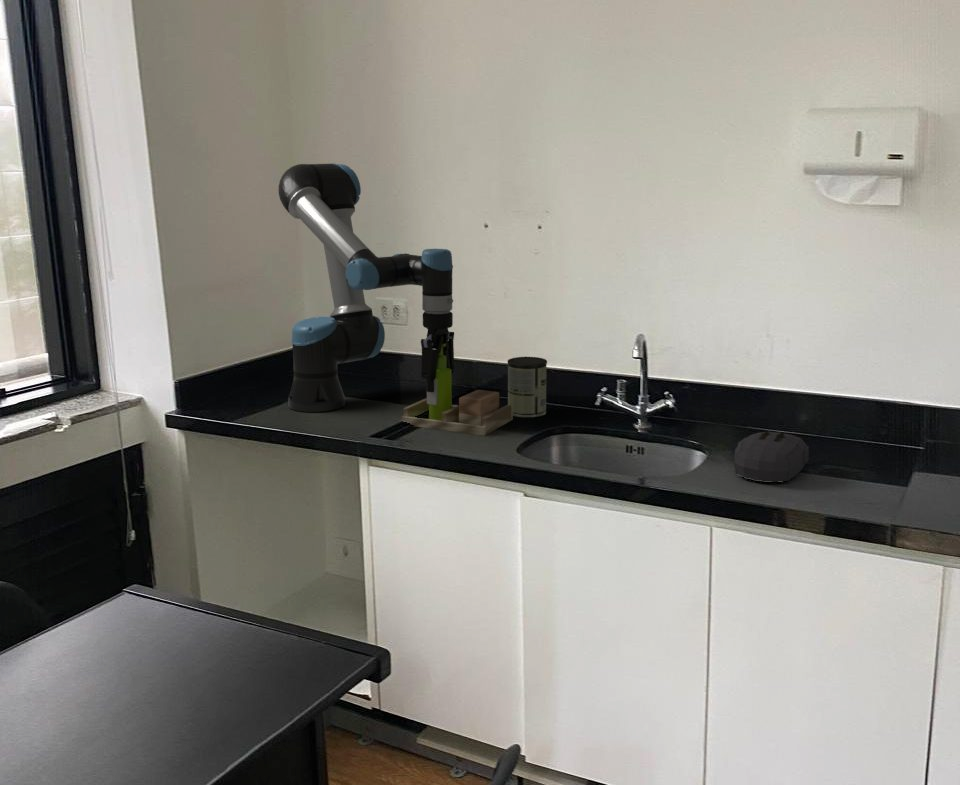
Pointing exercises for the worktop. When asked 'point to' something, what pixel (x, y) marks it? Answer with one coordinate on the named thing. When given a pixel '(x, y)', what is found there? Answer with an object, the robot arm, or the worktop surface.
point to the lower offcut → (472, 418)
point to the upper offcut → (478, 402)
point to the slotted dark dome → (770, 456)
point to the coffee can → (527, 386)
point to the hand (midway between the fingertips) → (438, 401)
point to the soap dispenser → (442, 388)
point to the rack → (456, 419)
